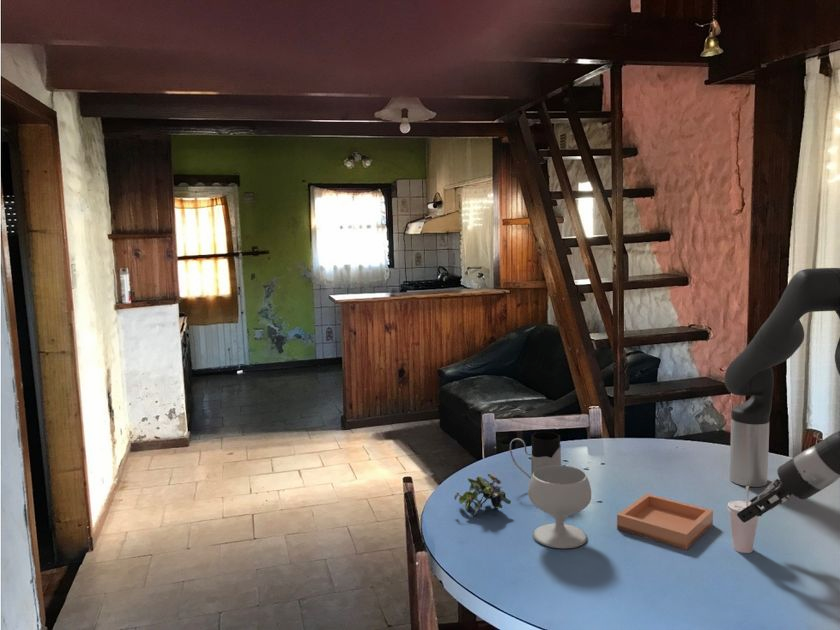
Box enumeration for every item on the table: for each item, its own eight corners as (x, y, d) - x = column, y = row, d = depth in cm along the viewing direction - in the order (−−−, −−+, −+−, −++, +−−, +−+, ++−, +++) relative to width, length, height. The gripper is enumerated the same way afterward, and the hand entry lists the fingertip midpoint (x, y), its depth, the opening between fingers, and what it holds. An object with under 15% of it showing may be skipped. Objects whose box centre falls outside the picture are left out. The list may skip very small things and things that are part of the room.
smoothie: (763, 557, 136) (765, 493, 134) (730, 555, 137) (732, 491, 135) (754, 543, 142) (756, 481, 140) (723, 541, 143) (724, 480, 142)
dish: (646, 506, 162) (646, 493, 162) (712, 524, 151) (713, 510, 151) (617, 529, 151) (617, 514, 150) (686, 549, 140) (686, 534, 140)
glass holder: (560, 497, 170) (560, 442, 168) (507, 492, 175) (506, 438, 173) (564, 485, 178) (564, 432, 176) (513, 480, 183) (512, 428, 181)
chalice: (555, 558, 138) (554, 490, 136) (516, 532, 151) (515, 470, 149) (604, 542, 145) (605, 477, 143) (563, 519, 157) (563, 459, 155)
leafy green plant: (494, 528, 166) (521, 495, 161) (469, 535, 157) (496, 502, 153) (468, 494, 172) (492, 462, 167) (442, 499, 164) (467, 466, 159)
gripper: (804, 447, 136) (744, 486, 145) (786, 465, 125) (722, 507, 135) (832, 477, 133) (769, 515, 142) (816, 499, 122) (749, 538, 132)
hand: (746, 511), depth 138 cm, fingers open, 8 cm apart
